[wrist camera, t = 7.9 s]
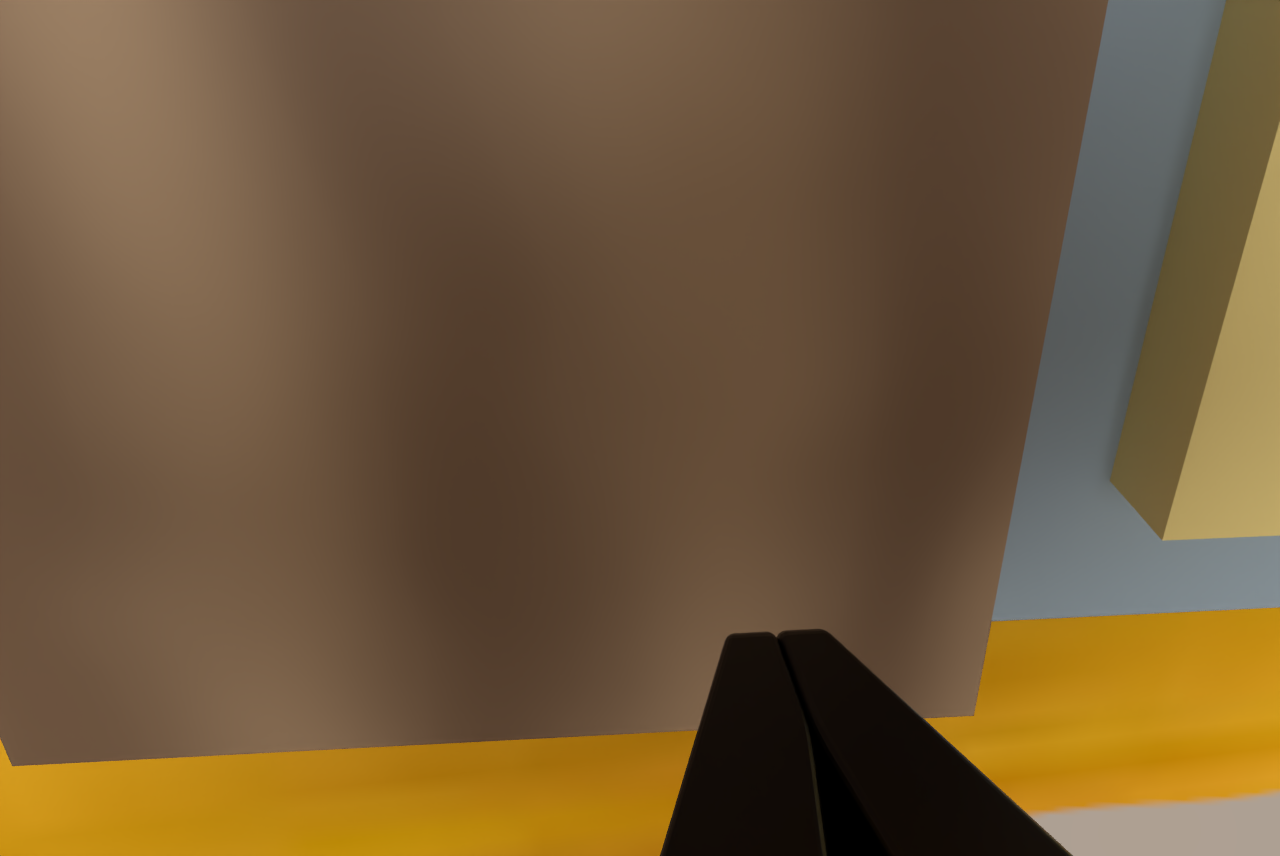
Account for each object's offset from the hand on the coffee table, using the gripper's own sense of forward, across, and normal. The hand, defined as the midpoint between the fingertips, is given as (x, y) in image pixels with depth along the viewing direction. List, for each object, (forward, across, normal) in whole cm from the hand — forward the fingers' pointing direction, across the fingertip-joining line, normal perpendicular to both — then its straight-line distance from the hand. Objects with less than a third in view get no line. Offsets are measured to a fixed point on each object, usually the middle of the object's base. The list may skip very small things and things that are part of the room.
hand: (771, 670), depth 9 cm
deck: (+10, +3, 0) cm, 11 cm away
